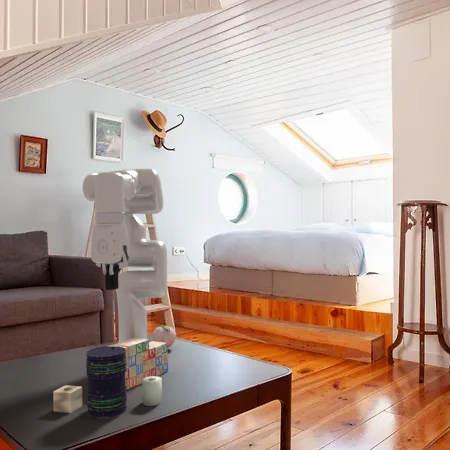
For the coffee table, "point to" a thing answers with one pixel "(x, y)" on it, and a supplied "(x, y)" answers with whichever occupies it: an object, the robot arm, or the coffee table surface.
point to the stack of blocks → (143, 359)
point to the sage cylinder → (152, 391)
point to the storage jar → (106, 382)
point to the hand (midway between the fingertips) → (112, 289)
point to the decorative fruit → (164, 335)
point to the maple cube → (67, 398)
